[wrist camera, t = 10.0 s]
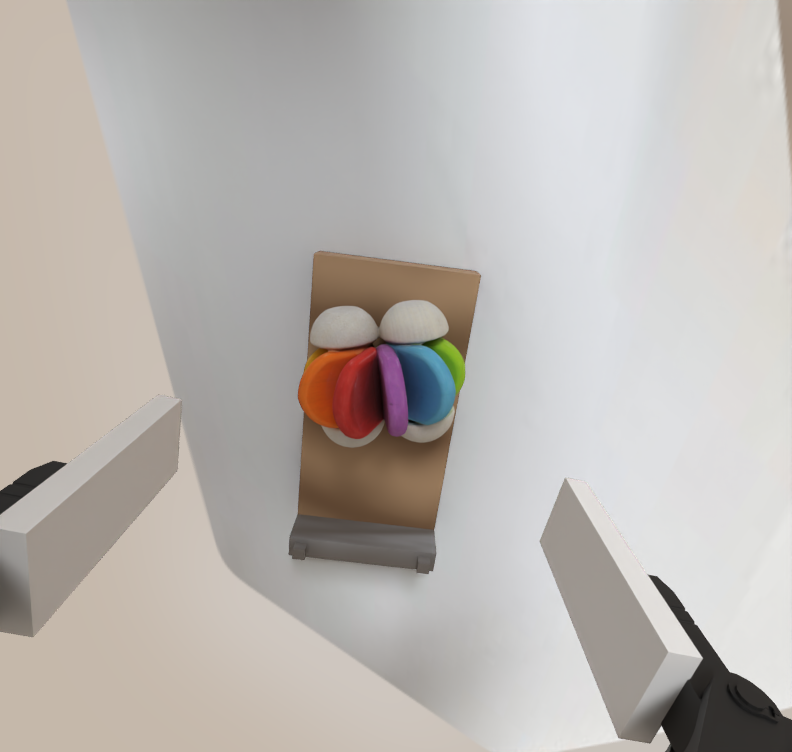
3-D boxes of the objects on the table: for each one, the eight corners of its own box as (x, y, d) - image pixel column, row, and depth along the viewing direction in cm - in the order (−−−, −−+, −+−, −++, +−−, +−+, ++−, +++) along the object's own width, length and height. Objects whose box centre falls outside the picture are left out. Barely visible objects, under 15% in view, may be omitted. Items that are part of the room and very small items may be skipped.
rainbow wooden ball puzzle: (300, 305, 28) (266, 335, 22) (458, 292, 28) (475, 319, 21) (319, 429, 31) (295, 490, 24) (463, 419, 31) (479, 479, 24)
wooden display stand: (319, 250, 29) (302, 259, 24) (476, 271, 30) (490, 283, 25) (302, 514, 36) (286, 562, 31) (429, 528, 36) (433, 578, 31)
